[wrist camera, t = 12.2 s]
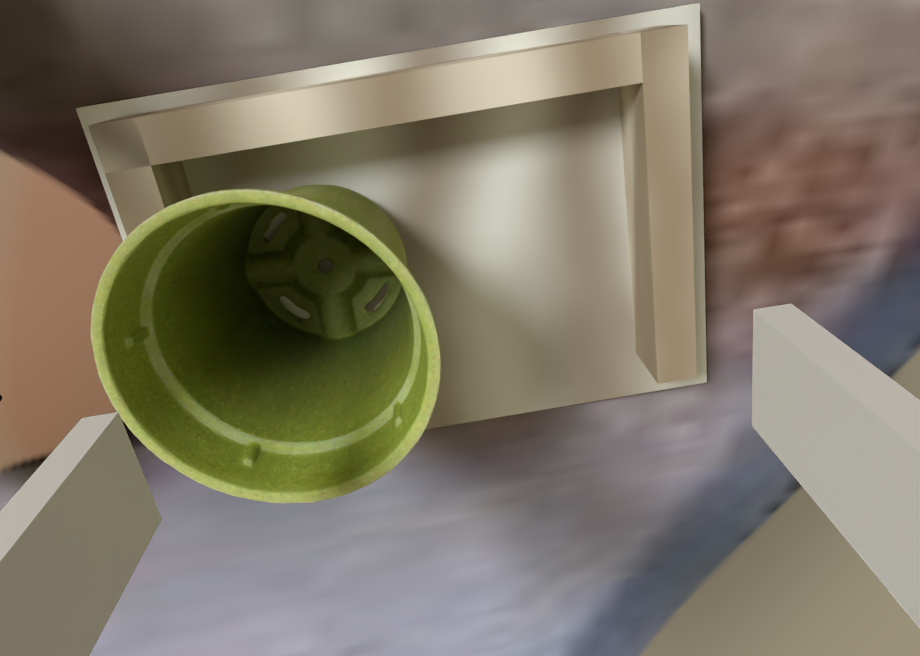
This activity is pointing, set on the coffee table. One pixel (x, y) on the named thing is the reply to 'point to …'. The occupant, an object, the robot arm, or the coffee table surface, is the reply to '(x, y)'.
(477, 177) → the beige rectangular tray
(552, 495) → the coffee table surface
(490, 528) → the coffee table surface
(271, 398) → the plant pot
